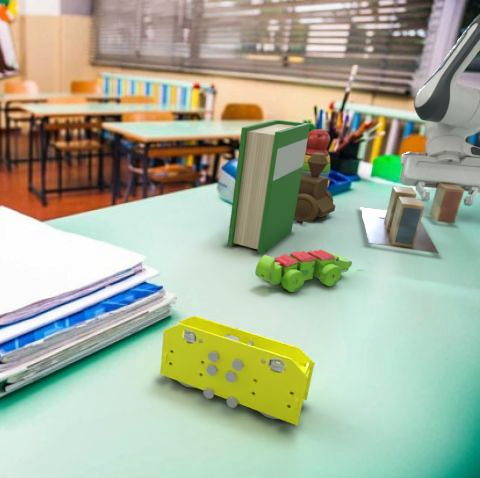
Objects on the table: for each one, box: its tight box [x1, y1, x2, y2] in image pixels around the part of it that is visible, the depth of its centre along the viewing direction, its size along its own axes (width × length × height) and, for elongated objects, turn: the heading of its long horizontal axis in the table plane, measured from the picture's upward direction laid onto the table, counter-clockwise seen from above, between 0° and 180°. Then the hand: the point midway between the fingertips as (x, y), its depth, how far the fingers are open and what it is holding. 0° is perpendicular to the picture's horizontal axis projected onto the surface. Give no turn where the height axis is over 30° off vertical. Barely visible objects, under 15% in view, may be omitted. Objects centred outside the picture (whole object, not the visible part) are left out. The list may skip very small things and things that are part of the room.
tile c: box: [429, 183, 465, 224], centre depth 121 cm, size 4×6×9 cm, turn 164°
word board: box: [360, 207, 439, 254], centre depth 114 cm, size 13×28×1 cm, turn 159°
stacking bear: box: [302, 128, 331, 178], centre depth 143 cm, size 11×10×18 cm
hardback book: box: [226, 119, 311, 256], centre depth 102 cm, size 18×7×24 cm, turn 143°
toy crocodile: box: [254, 249, 353, 293], centre depth 85 cm, size 20×7×6 cm, turn 111°
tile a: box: [384, 185, 417, 230], centre depth 112 cm, size 4×6×9 cm, turn 159°
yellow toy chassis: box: [160, 315, 315, 426], centre depth 56 cm, size 16×6×8 cm, turn 60°
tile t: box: [389, 196, 425, 248], centre depth 103 cm, size 4×6×9 cm, turn 158°
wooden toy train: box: [294, 153, 336, 223], centre depth 121 cm, size 20×11×17 cm, turn 47°
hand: (446, 202), depth 120 cm, fingers open, 8 cm apart
